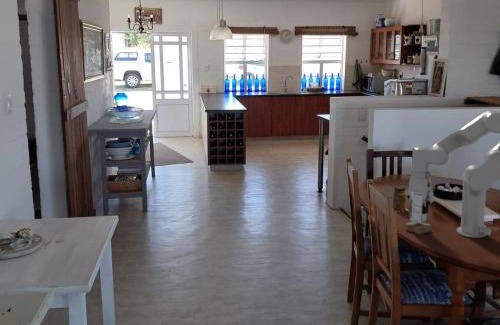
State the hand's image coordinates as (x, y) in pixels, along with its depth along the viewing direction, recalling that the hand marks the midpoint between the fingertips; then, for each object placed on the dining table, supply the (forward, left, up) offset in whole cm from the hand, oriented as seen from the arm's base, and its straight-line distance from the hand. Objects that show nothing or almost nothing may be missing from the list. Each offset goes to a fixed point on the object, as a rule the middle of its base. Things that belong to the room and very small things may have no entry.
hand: (418, 211), depth 236 cm
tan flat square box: (0, 0, -9) cm, 9 cm away
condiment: (+26, -16, -10) cm, 32 cm away
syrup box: (0, 0, -5) cm, 5 cm away
